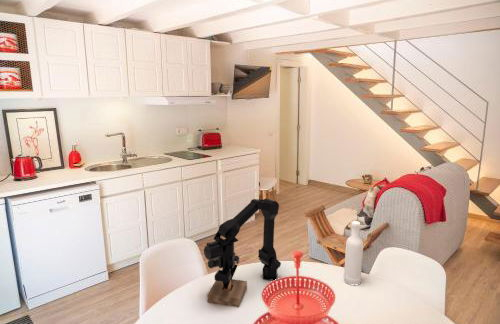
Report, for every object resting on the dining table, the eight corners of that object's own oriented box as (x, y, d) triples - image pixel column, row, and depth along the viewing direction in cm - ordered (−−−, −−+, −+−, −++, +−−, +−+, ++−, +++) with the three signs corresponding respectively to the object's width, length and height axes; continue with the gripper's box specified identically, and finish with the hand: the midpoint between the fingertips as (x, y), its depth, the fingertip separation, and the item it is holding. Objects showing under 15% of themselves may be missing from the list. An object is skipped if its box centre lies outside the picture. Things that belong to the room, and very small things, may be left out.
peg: (231, 294, 149) (231, 273, 147) (230, 297, 146) (229, 277, 144) (225, 293, 149) (225, 272, 148) (223, 297, 147) (223, 276, 145)
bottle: (341, 282, 159) (345, 223, 153) (346, 275, 165) (349, 218, 160) (358, 287, 154) (362, 226, 149) (362, 279, 161) (366, 221, 155)
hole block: (246, 288, 153) (246, 281, 152) (239, 307, 139) (239, 298, 139) (217, 285, 156) (217, 277, 155) (207, 302, 142) (207, 294, 142)
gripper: (216, 241, 154) (217, 272, 157) (202, 260, 137) (203, 294, 139) (239, 244, 152) (239, 275, 155) (228, 263, 134) (228, 298, 137)
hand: (227, 285), depth 147 cm, fingers open, 5 cm apart
